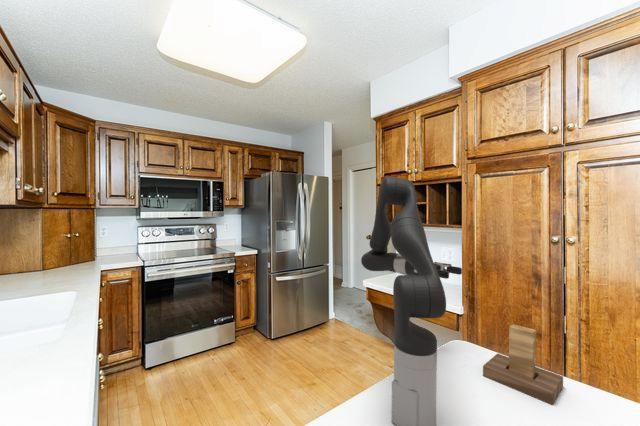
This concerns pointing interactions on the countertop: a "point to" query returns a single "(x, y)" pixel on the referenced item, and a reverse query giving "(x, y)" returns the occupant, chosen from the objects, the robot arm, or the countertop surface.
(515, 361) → the plank
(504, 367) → the base board
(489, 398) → the countertop surface
